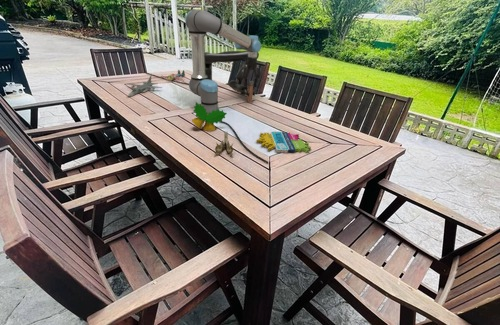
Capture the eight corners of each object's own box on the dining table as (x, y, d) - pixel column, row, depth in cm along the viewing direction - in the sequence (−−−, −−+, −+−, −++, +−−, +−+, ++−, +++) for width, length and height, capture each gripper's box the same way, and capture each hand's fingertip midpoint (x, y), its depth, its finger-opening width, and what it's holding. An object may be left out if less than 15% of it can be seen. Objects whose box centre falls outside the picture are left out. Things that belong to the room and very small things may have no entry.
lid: (247, 83, 217) (247, 80, 216) (254, 83, 217) (254, 81, 216) (247, 84, 213) (247, 82, 212) (253, 85, 213) (253, 82, 212)
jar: (246, 101, 223) (247, 82, 216) (251, 100, 225) (252, 82, 217) (247, 102, 220) (248, 83, 212) (252, 102, 221) (254, 83, 213)
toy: (193, 71, 287) (180, 75, 262) (193, 77, 291) (181, 82, 265) (170, 68, 292) (155, 72, 266) (170, 75, 296) (156, 79, 270)
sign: (313, 150, 142) (258, 149, 139) (312, 153, 143) (258, 152, 140) (301, 132, 164) (254, 130, 161) (301, 134, 165) (254, 133, 162)
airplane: (122, 86, 237) (119, 75, 232) (157, 84, 250) (156, 74, 245) (126, 99, 209) (123, 86, 204) (166, 96, 222) (165, 84, 217)
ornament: (218, 133, 171) (224, 110, 169) (221, 134, 163) (227, 111, 161) (186, 125, 162) (192, 101, 160) (189, 126, 155) (195, 101, 153)
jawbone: (234, 135, 144) (233, 125, 135) (233, 160, 138) (232, 151, 129) (217, 135, 144) (216, 125, 135) (216, 160, 138) (214, 150, 129)
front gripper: (241, 57, 199) (240, 88, 210) (266, 58, 205) (263, 87, 216) (238, 56, 205) (237, 85, 216) (262, 56, 211) (260, 85, 222)
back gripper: (235, 85, 225) (244, 90, 212) (249, 84, 231) (259, 89, 218) (234, 94, 228) (243, 99, 216) (249, 93, 235) (258, 98, 222)
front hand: (250, 86), depth 216 cm, fingers open, 7 cm apart
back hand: (251, 94), depth 217 cm, fingers closed on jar, 4 cm apart
